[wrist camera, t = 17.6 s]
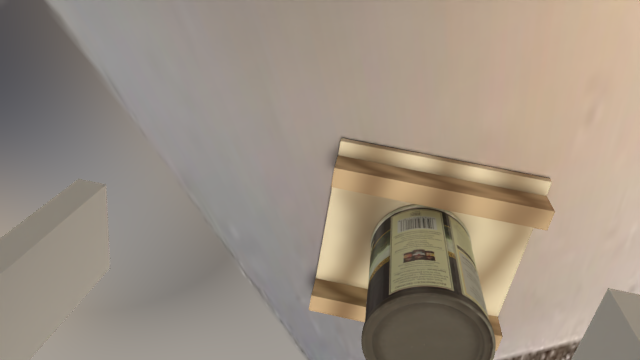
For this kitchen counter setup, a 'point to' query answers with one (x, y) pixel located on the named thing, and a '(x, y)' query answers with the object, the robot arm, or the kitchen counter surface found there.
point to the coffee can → (424, 290)
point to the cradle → (433, 191)
